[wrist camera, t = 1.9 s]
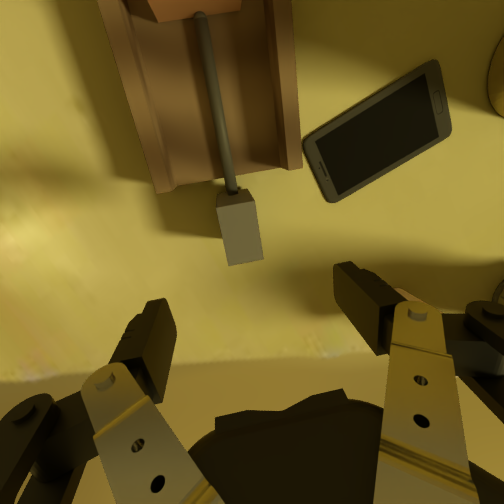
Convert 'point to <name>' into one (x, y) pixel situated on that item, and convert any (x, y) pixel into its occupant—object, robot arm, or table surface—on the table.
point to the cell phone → (380, 133)
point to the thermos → (499, 294)
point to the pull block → (219, 132)
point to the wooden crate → (195, 92)
